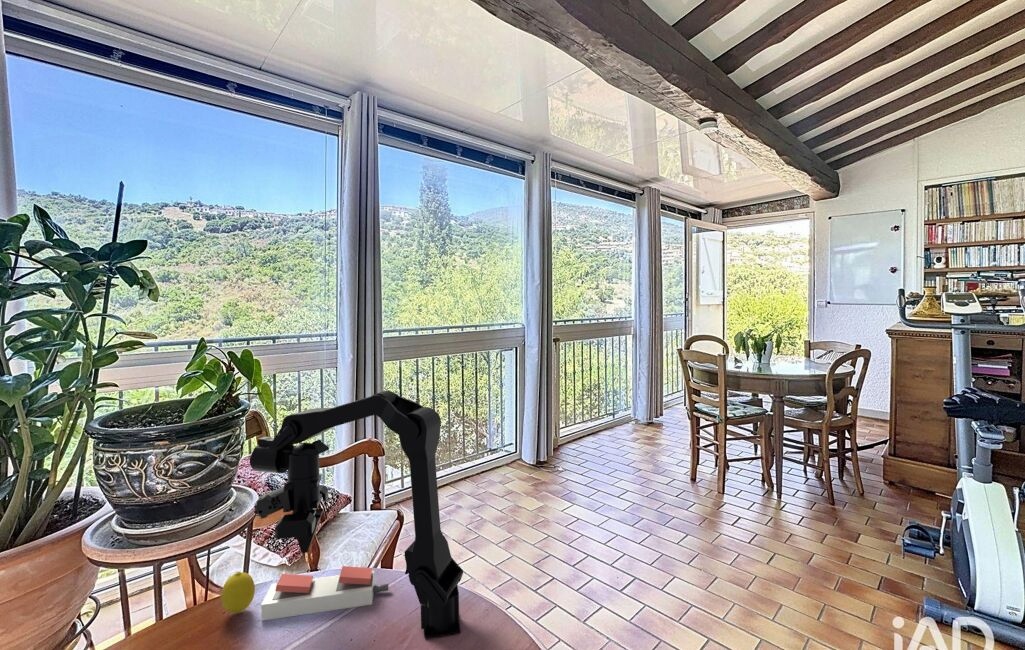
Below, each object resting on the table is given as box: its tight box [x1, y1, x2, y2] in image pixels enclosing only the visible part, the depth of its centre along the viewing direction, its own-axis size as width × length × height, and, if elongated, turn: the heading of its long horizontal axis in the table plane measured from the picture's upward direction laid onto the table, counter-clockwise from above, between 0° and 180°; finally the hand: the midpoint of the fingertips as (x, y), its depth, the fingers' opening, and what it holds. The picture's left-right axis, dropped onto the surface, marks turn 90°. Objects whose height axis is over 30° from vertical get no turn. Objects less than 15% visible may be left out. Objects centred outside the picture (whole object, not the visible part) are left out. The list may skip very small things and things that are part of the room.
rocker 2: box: [339, 565, 373, 585], centre depth 93 cm, size 6×4×1 cm, turn 103°
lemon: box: [220, 571, 256, 615], centre depth 88 cm, size 6×6×8 cm
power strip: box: [260, 570, 389, 622], centre depth 92 cm, size 23×7×3 cm, turn 103°
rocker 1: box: [275, 573, 314, 593], centre depth 90 cm, size 6×4×1 cm, turn 103°
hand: (305, 552), depth 91 cm, fingers closed
